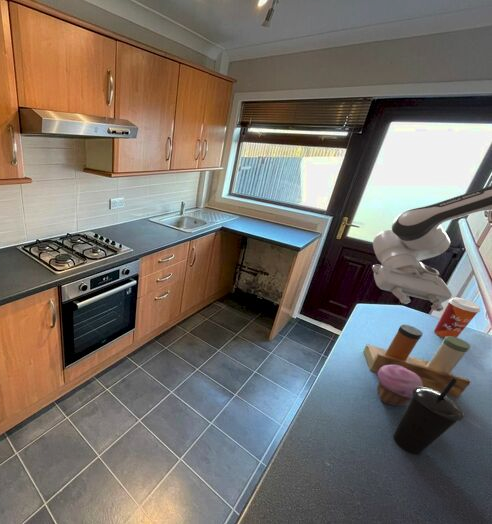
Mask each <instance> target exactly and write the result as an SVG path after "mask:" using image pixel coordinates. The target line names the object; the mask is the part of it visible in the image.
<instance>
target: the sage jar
mask: <svg viewBox="0 0 492 524" xmlns="http://www.w3.org/2000/svg"><path fill="white" fill-rule="evenodd" d="M470 349H471V345H470V344H469V343H468V342H467V341H465V340H463V339H462V338H459V337H457V338H456V337H453V336H446V337H445V338H443V340H442V342H441V343H440V345H439V347H438V348H437V349H436V351H435V353H434V354H433V355H432V357H431V358H430V360H429V361H428V362H429V363H428V364H427V366H426V367H428V368H431V369H435V370H438V371H441V372H445V373H448V374H450V373H451V372H452V373H453V370H454V369H455V368H456V367H457V365H458V364H459V363H460V361H461V360H462V359H463V357H464V356H465V354H466V353H468V352H469V350H470Z"/></svg>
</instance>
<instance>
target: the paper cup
mask: <svg viewBox="0 0 492 524" xmlns="http://www.w3.org/2000/svg"><path fill="white" fill-rule="evenodd" d="M480 312H481V306H480V305H479V304H478V303H476V302H474V301H472V300H469V299H466V298H463V297H455V296H454V297H451V298H450V299H448V303H447V305H446V307H445V309H444V311H443V313H442V315H441V317H440V319H439V320H438V322H437V324H436V326H435V328H434V330H433V333H435V335H437V336H439V337H440V338H443V339H444V338H445V337H446V336H453V337H456V338H459V335H460V334H461V333H462V332H463V331H464V330H465V328H467V326H468V325H469V323H471V321H472V320H473V319H474V318H475V316H476V315H477V314H478V313H480Z"/></svg>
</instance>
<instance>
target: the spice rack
mask: <svg viewBox="0 0 492 524" xmlns="http://www.w3.org/2000/svg"><path fill="white" fill-rule="evenodd" d="M386 351H387V349H385V348H382V347H378V346H374V345H371V344H366V345H365V347H364V348H363V351H362V352H363V355H364V357H365V361H366V364H367V366H368V369H369V370H370V371H371V372H375V373H377V374H378V371H379V369H380V368H381V367H382V366H385V365H399V366H402V367H404V368H406V369H408V370H410V371H412V372H414V373H415V374H417V375H418V376H419V377H420V379H421V380H422V383H423V386H424V387H426V388H430V389H433V390H435V391H437V392H440V393H442V392H443V390H444V389H445V388H446V386H447V385H448V384H449V382H450V381H451V380H452V378H453V379H456V380H457V382H456V383H455V384H454V386H453V387H452V388H451V389H450V391H449V392H448V393H447V395H448V396H451V397H454V398H457V399H458V398H459V397H460V396H462V394H463V392H464V391H465V390H466V389H467V387H468V386H469V385H470V384H471V380H470V379H468V378H465V377H462V376H460V375H459V376H458V375H456V374H455V375H454V373H453V371H452V372H451V373H450V374H448V373H445V372H441V371H438V370H435V369H431V368H428V367H426V366H427V364H428V363H429V361H427V360H424V359H420V358H416V357H413V356H410V355H409V356H408V358H407V359H406V361H404V360H400V359H397V358H393V357H390V356H386V355H385V353H386Z"/></svg>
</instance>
